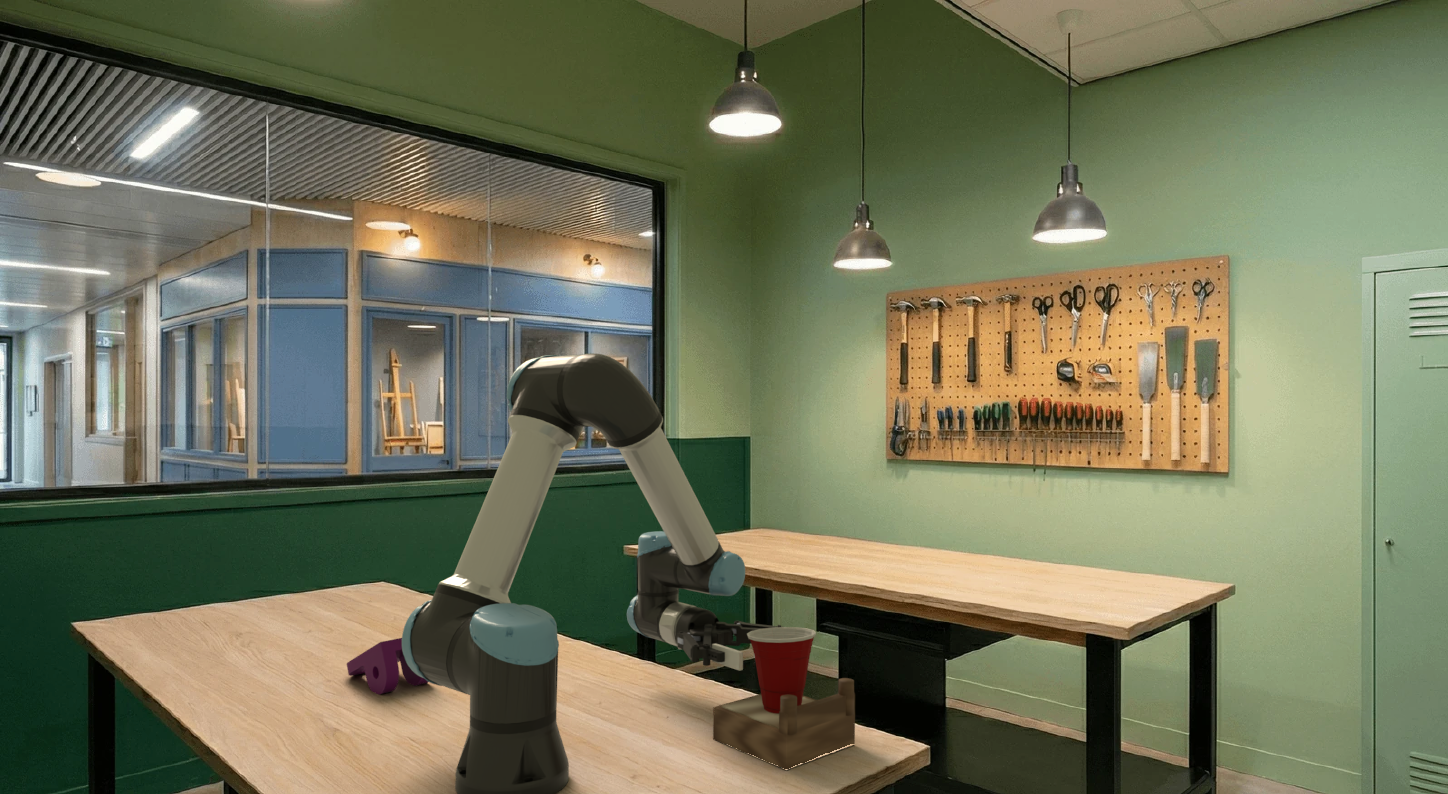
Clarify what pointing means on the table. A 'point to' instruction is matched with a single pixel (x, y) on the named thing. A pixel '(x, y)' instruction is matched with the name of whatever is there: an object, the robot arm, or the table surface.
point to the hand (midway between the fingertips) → (773, 654)
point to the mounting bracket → (383, 667)
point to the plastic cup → (781, 662)
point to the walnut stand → (788, 726)
